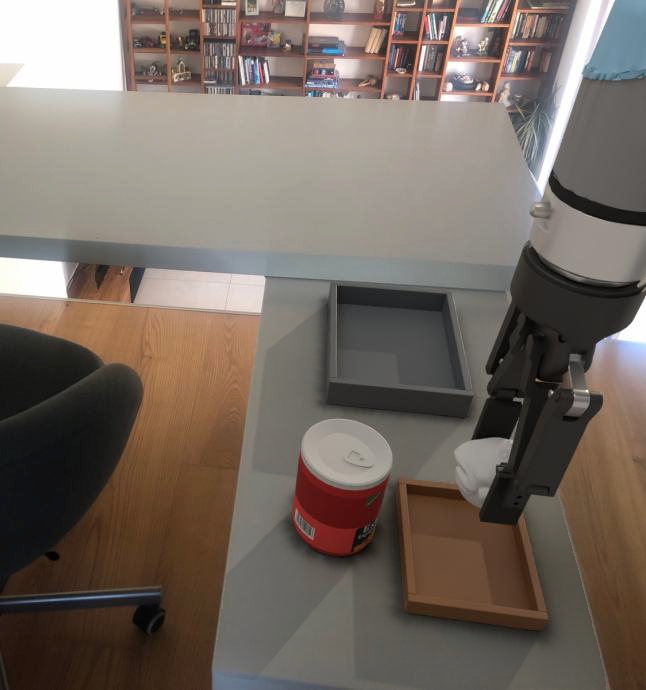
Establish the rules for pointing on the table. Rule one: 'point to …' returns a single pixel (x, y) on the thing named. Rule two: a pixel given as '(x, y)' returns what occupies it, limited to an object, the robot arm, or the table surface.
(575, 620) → the table surface
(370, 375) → the tub
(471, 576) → the tray
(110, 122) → the table surface
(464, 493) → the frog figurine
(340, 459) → the canned food
